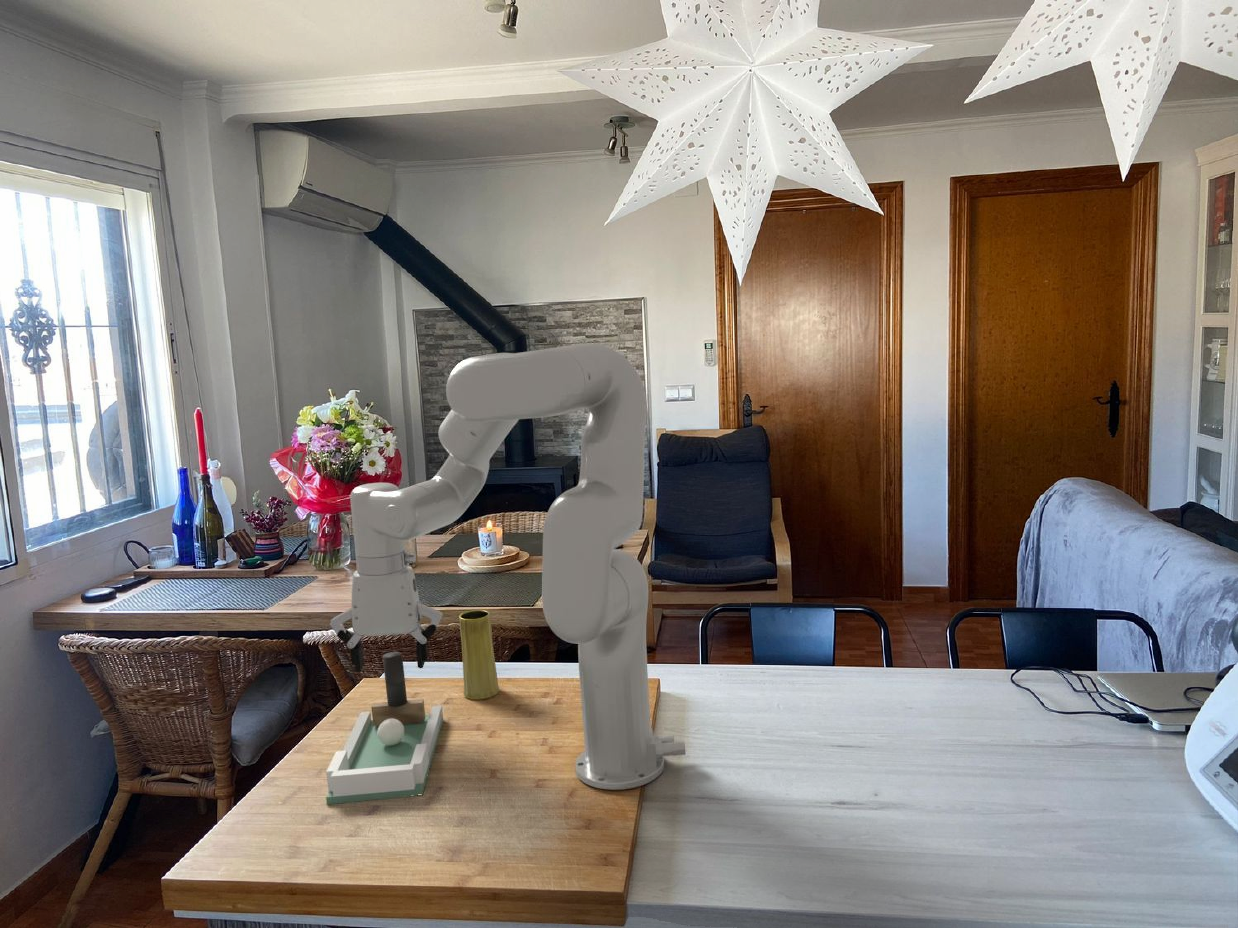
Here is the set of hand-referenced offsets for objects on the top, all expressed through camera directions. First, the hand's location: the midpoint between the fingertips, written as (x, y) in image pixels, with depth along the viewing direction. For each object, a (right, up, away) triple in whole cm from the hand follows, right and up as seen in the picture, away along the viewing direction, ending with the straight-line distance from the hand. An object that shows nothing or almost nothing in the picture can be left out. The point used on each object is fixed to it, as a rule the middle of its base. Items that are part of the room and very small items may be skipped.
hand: (390, 666), depth 148 cm
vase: (+12, -8, +14) cm, 20 cm away
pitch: (+2, -12, -8) cm, 14 cm away
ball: (+1, -9, -6) cm, 11 cm away
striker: (+1, -9, +1) cm, 9 cm away
